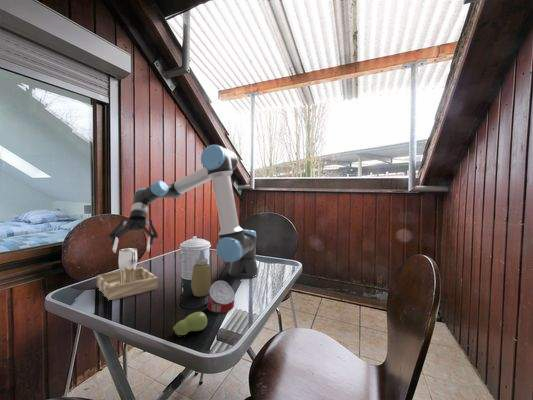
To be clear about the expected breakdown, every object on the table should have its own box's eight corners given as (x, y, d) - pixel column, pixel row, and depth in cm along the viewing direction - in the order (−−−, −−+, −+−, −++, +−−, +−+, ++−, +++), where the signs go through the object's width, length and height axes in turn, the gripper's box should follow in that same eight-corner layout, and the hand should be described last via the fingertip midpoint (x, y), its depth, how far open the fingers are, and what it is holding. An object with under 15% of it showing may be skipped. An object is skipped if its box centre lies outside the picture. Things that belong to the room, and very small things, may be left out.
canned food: (229, 313, 97) (242, 290, 97) (225, 324, 87) (240, 298, 87) (204, 298, 97) (217, 275, 98) (197, 307, 87) (212, 282, 88)
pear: (208, 313, 75) (174, 328, 69) (210, 329, 76) (177, 345, 70) (202, 306, 80) (170, 319, 74) (204, 321, 80) (172, 335, 75)
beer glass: (128, 289, 101) (129, 252, 100) (113, 287, 102) (114, 250, 101) (140, 283, 107) (141, 248, 107) (126, 281, 109) (127, 247, 108)
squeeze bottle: (214, 293, 103) (216, 250, 102) (200, 300, 96) (201, 254, 96) (201, 288, 107) (202, 247, 107) (186, 294, 100) (187, 250, 100)
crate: (157, 289, 105) (157, 277, 105) (108, 301, 92) (108, 288, 92) (141, 277, 117) (142, 267, 117) (96, 286, 104) (96, 275, 104)
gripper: (165, 218, 131) (161, 254, 117) (112, 218, 123) (101, 256, 110) (165, 209, 125) (160, 245, 112) (108, 208, 118) (96, 246, 104)
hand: (131, 250), depth 111 cm, fingers open, 13 cm apart
